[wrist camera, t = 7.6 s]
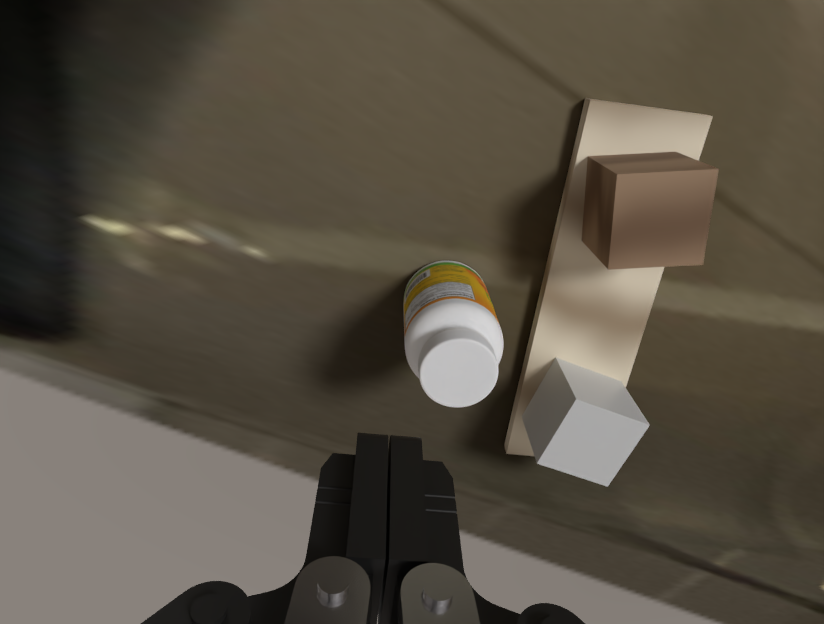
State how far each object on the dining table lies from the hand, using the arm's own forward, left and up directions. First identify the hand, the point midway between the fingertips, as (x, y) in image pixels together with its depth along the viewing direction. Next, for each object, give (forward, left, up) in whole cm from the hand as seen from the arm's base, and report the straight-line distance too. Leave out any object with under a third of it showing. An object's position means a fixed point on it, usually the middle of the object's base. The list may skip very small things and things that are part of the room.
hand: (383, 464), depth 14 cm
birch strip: (+5, +14, -24) cm, 28 cm away
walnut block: (-2, +14, -23) cm, 27 cm away
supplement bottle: (+6, +4, -24) cm, 25 cm away
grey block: (+12, +14, -23) cm, 29 cm away
